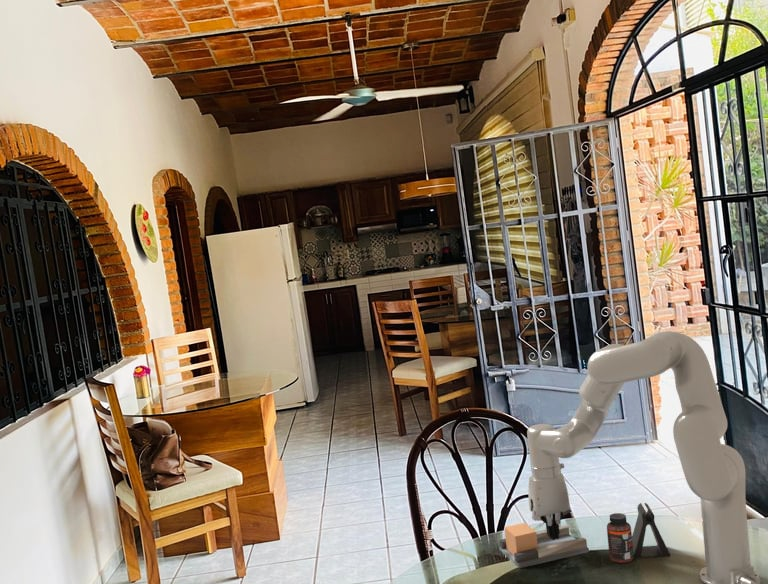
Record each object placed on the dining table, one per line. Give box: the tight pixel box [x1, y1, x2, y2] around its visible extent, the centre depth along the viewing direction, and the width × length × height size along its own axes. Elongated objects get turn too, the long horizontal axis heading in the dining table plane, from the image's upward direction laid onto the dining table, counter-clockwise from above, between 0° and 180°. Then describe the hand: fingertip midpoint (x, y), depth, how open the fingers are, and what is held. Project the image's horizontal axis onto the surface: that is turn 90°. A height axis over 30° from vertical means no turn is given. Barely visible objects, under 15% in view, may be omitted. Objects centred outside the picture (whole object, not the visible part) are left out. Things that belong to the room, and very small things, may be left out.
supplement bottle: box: [606, 512, 635, 564], centre depth 187 cm, size 6×6×11 cm
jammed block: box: [504, 522, 538, 555], centre depth 196 cm, size 7×6×6 cm
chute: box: [498, 524, 590, 569], centre depth 198 cm, size 13×20×3 cm, turn 104°
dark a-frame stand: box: [632, 502, 671, 559], centre depth 189 cm, size 9×6×12 cm, turn 82°
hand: (553, 537), depth 198 cm, fingers closed
